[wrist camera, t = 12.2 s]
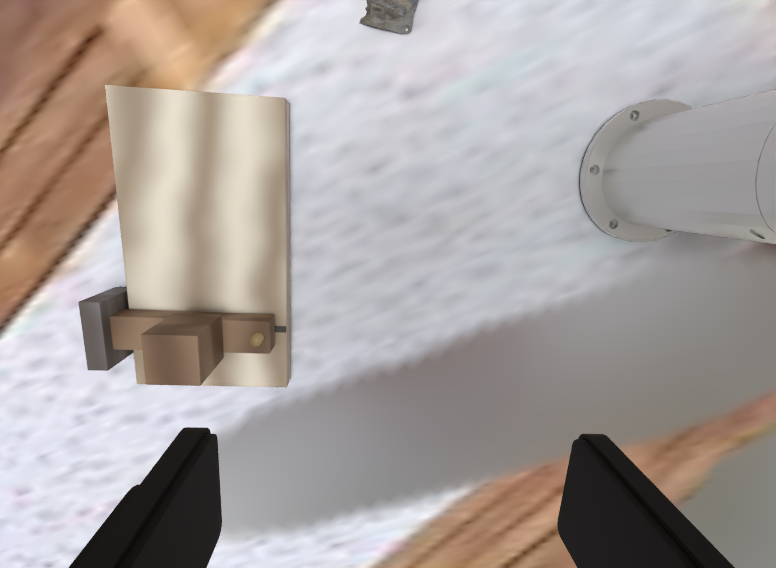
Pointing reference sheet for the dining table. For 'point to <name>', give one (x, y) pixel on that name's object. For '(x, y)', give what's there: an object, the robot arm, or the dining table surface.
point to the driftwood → (390, 14)
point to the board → (206, 213)
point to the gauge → (168, 338)
